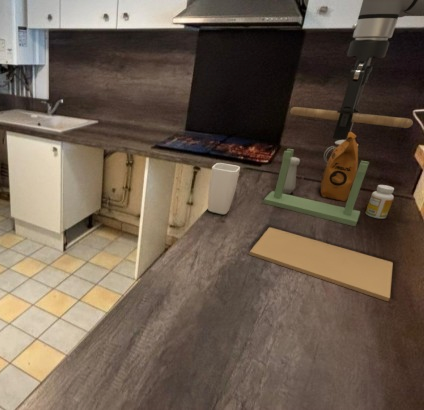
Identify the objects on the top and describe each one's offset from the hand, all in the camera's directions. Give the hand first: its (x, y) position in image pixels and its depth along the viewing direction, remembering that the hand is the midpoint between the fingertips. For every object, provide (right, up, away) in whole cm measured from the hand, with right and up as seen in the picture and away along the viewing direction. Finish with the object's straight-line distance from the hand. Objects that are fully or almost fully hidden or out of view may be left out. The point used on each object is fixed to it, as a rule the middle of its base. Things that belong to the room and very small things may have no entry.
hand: (339, 137), depth 94 cm
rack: (+7, -19, +23) cm, 31 cm away
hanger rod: (0, +5, -2) cm, 6 cm away
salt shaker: (+7, -13, +38) cm, 40 cm away
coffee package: (+23, -14, +36) cm, 45 cm away
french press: (+38, -6, +56) cm, 68 cm away
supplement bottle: (+25, -21, +20) cm, 39 cm away
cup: (-24, -20, +21) cm, 38 cm away
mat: (-9, -31, -5) cm, 33 cm away
